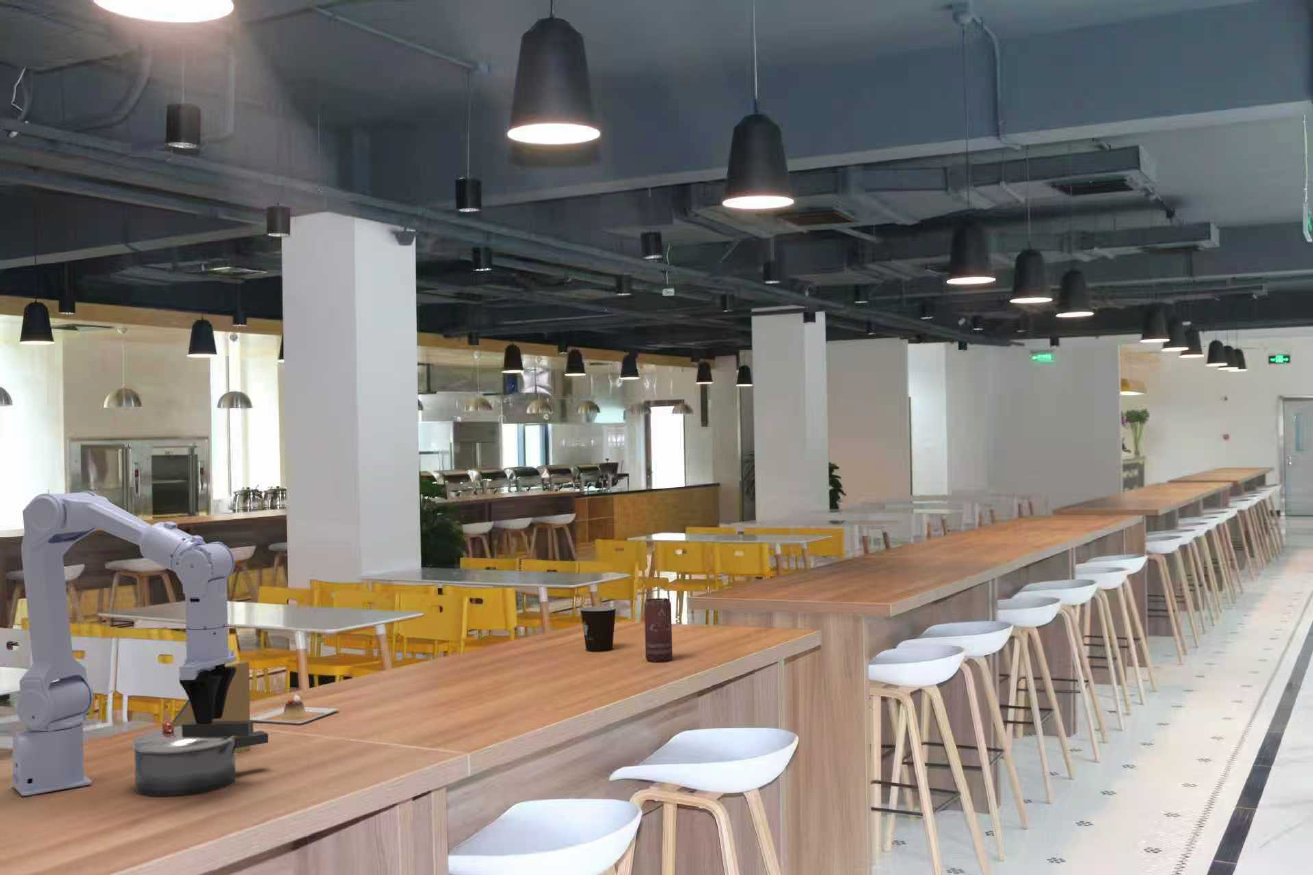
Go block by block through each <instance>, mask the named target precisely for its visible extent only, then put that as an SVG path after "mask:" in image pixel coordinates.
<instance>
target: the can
mask: <svg viewBox="0 0 1313 875" xmlns="http://www.w3.org/2000/svg"><path fill="white" fill-rule="evenodd" d="M643 604H644V605H643V606H644V607H643V608H644V610H643V612H644V639H645V642H644V644H645V659H646V661H647V662H649V663H666V662H667V663H669V662H670V661H672V659H673V637H672V636H673V632H672V631H673V629H672V628H673V627H672V603H671V601H670V599H669V598H666V597H663V598H662V597H661V598H648V599H645V601H644V603H643Z"/></svg>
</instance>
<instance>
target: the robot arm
mask: <svg viewBox="0 0 1313 875" xmlns="http://www.w3.org/2000/svg"><path fill="white" fill-rule="evenodd" d="M22 521H23V528H24V529H23V531H24V532H23V537H22V541H21V549H20V552H21V560H22V570H23V579H24V580H23V581H24V590H25V599H26V601H25V602H26V610H27V611H26V612H27V620H28V630H29V638H30V648H31V660H32V665H31V666H30V667H29V668H28V669H27V670H26V672H25V673H24V675H23V676H21V678H20V680H19V682H18V683H19V695H18V698H17V702H16V713H17V716H18V720H20V722H21V723H22V724H23V725H24V726H25V730H20V731H16V732H15V733H13V737H12V778H13V779H12V787H13V788H14V790H16V791H17V792H18V794H20V795H21V796H23V797H26V796H31V795H32V796H33V795H38V794H43V793H49V792H54V791H55V792H56V791H60V790H66V789H73V788H77V787H83V786H89V785H90V786H91V785H92V784H93V781H92V780H91V779H90V778H89V777H87V776H86V775H85V762H84V761H85V755H84V753H85V752H84V722H85V721H87V714H88V713H89V712H90V711H91V709H92V707H93V705H94V702H95V694H94V693H95V692H94V689H93V686H92V685H91V683H90V682H89V679H88V674H87V668H86V667H85V666H84V665H83V664H82V663H80V662H79V661H78V660H76V659H75V657H74V653H73V642H72V635H71V634H72V633H71V624H70V613H69V604H68V595H67V594H68V593H67V586H66V585H67V584H66V574H65V565H64V555H65V554H66V553H67V552H68V550H69V549H70V548H71V547H72V546H73V545H74V544H75V543H77V542H78V541H80V540H81V539H83V538H85V537H86V536H88V535H90V534H91V533H93V532H95V531H96V530H97V529H98V530H101V531H103V532H106V533H108V534H110V535H112V536H114V537H118V538H120V539H123V540H125V541H128V542H130V543H133V544H135V545H137V546H139V551H140V554H141V556H142V557H143V558H145V559H147V560H149V561H152V562H153V563H155V564H157V565H160V566H162V567H163V568H166V569H168V570H170V571H172V572H174V573H175V574H176V577H177V578H178V580H179V581H180V582H181V585H182V593H183V594H184V597H185V598H184V599H185V600H184V602H185V642H186V643H185V644H186V649H185V650H186V658H185V659H184V661H183V664H181V665H179V677H178V678H179V684H180V686H181V687H182V688H183V690H184V692H185V694H186V695H187V699H189V701H190V703H191V707H192V710H193V714H194V718H195V721H196V724H211V723H212V721H213V719H220V718H222V715H223V711H224V706H225V701H226V696H227V692H228V689H229V686H230V683H231V681H232V679H233V677H234V675H235V673H236V667H225V665H227V664H234V663H235V662H236V661H237V659H238V658H237V657H238V656H237V655H235V649H232V648H231V649H230V648H229V621H228V620H229V618H228V617H229V615H228V614H229V612H228V611H229V610H228V579H229V577H230V576H232V574H233V572H234V569H235V567H236V566H235V562H236V561H235V556H234V554H233V551H232V550H231V548H229V547H228V546H227V545H225V544H224V543H223V542H221V541H213V542H209V543H206V541H204V538H203V537H202V536H200V535H197V534H196V535H191V534H189V533H187V532H185V531H183V530H181V529H179V528H178V523H176V522H173V521H159V522H157V523H154V524H150V523H148V522H147V521H145V520H143V519H140V518H139V517H137V516H136V515H134V514H132V513H130V512H128V511H126V510H125V509H123V508H121V507H120V506H117V505H115V504H114V503H112V502H110V501H109V500H108V498H107V497H105V496H102V495H97V494H96V493H95V492H92V491H87V490H86V491H85V490H84V491H80V492H69V493H68V492H67V493H39V494H38V495H35V497H33V498H32V499H31V501H30V502H29V503H28V504H26V506H25V508H24V509H23V510H22Z"/></svg>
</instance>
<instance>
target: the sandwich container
mask: <svg viewBox="0 0 1313 875" xmlns="http://www.w3.org/2000/svg"><path fill="white" fill-rule="evenodd" d="M225 667H236V673H235V675H234V677H233V679H232V681H231V683H230V686H229V689H228V692H227V696H226V701H225V706H224V711H223V715H222V718H220V719H213V721H245V720H250V718H251V714H250V713H251V711H250V710H251V708H250V707H251V706H250V705H251V704H250V703H251V702H250V700H251V698H250V696H251V695H250V663H249V661H241V662H237V663H235V662H234V663H229V664H225ZM194 721H195V718H194V714H193V710H192V707H191V703H190V701H189V698H187V701H185V703H184V704H183V706H182V707H181V709H180V710H179V711H178V713H177V714H176V716H175V717H174V718H173V720H172V721H171V722H174V727H178V726H182V724H184V723H186V722H194ZM248 750H249V751H251V746H246V747H240V748H235V754H236V753H239V754H242V753H241V752H243V751H246V752H249V751H248ZM243 753H244V752H243ZM236 755H237V754H236Z"/></svg>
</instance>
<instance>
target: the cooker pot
mask: <svg viewBox="0 0 1313 875" xmlns="http://www.w3.org/2000/svg"><path fill="white" fill-rule="evenodd" d="M268 743H269V733H267V732H265V731H263V730H258V731H253V733H252V734H250V735H246V736H236V739H235V740H233V741H232V742H230V743H227V744H225V745H222V746H218V747H214V748H210V749H205V750H199V751H193V752H184V753H172V754H150V753H142V752H138V751H135V750H134V785H135V787H134V789H135V792H136V793H137V794H139V795H141V796H147V797H155V798H156V797H159V798H165V797H166V798H167V797H168V798H169V797H182V796H191V795H197V794H203V793H207V792H211V791H215V790H219V789H222V788H225V787H227V786H228V785H231V784H233V783H234V782H235V781H236V779H237V777H236V776H237V774H236V773H237V771H236V755H235V748H240V747H246V746H250V747H251V746H257V745H263V744H268Z"/></svg>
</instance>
